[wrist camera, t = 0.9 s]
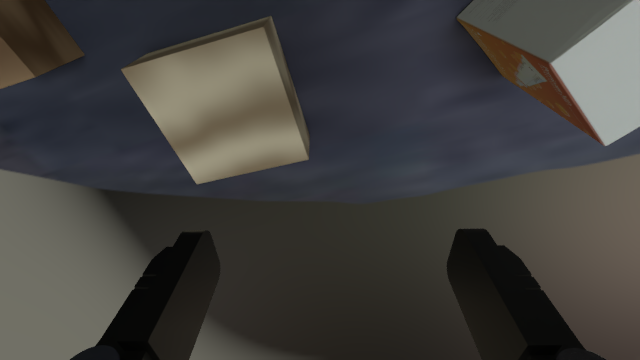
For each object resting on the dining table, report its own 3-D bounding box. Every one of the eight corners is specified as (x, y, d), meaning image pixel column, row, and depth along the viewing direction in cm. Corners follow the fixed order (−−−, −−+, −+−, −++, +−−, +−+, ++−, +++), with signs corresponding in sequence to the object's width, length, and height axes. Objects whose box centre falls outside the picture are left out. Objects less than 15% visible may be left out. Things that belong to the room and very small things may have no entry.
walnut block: (-9, 11, 25) (-86, 25, 20) (39, -8, 24) (-29, 3, 19) (40, 69, 28) (-16, 94, 23) (85, 54, 27) (35, 77, 22)
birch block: (149, 52, 27) (120, 69, 23) (271, 15, 25) (263, 26, 21) (210, 157, 34) (196, 184, 30) (309, 134, 32) (308, 159, 28)
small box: (453, 17, 25) (547, 63, 15) (524, -55, 22) (703, -60, 12) (501, 78, 28) (606, 150, 18) (569, 22, 26) (740, 70, 15)
